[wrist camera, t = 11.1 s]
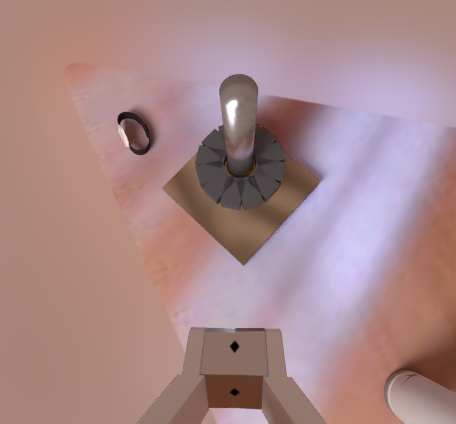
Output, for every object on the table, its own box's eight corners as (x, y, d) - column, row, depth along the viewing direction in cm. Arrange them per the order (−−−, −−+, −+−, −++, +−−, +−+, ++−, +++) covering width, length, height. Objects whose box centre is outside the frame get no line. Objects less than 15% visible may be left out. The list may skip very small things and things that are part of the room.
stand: (237, 119, 52) (237, 113, 50) (317, 185, 49) (320, 181, 47) (165, 191, 50) (162, 187, 48) (243, 265, 47) (243, 265, 45)
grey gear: (238, 114, 43) (237, 106, 41) (300, 165, 41) (303, 160, 39) (180, 170, 41) (177, 165, 39) (242, 227, 39) (242, 224, 37)
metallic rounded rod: (239, 169, 48) (237, 64, 25) (256, 184, 48) (269, 89, 24) (224, 185, 48) (207, 92, 25) (241, 200, 47) (239, 119, 24)
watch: (114, 125, 53) (105, 114, 50) (139, 112, 54) (132, 100, 50) (133, 162, 52) (126, 153, 48) (159, 149, 52) (153, 139, 49)
